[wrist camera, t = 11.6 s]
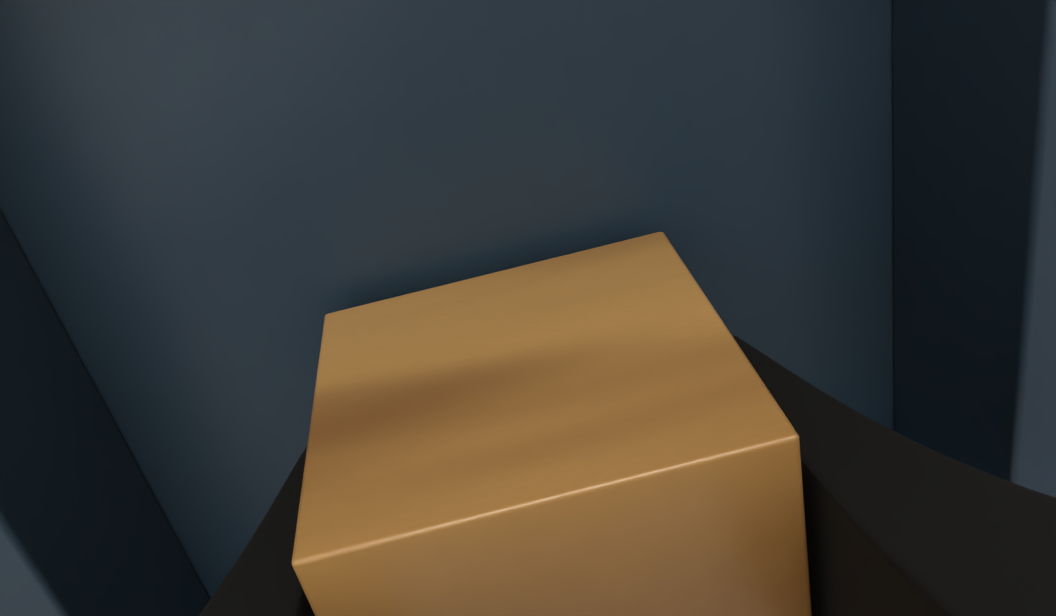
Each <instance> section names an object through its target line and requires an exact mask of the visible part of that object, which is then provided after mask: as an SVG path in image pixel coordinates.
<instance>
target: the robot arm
mask: <svg viewBox="0 0 1056 616" xmlns="http://www.w3.org/2000/svg"><path fill="white" fill-rule="evenodd" d="M733 338H734V339H735V341H736V342H737V344H738V345H739V347H740V348H741V350H742V351H743V353H744V354H745V356H746V357H747V359H748V360H749V362H750V363H751V365H752V366H753V368H754V369H755V371H756V372H757V374H758V375H759V377H760V378H761V380H762V381H763V383H764V384H765V386H766V387H767V389H768V390H769V392H770V393H771V395H772V396H773V398H774V399H775V401H776V402H777V404H778V405H779V407H780V408H781V410H782V411H783V413H784V414H785V416H786V417H787V419H788V420H789V422H790V423H791V425H792V426H793V428H794V429H795V431H796V432H797V434H798V435H799V441H800V455H801V469H802V483H803V497H804V511H805V525H806V539H807V553H808V567H809V581H810V595H811V609H812V616H1056V498H1055V497H1052V496H1049V495H1046V494H1043V493H1040V492H1037V491H1034V490H1031V489H1028V488H1026V487H1023V486H1020V485H1017V484H1015V483H1012V482H1009V481H1007V480H1004V479H1001V478H999V477H996V476H993V475H991V474H989V473H986V472H984V471H981V470H979V469H977V468H974V467H972V466H969V465H967V464H965V463H962V462H960V461H957V460H955V459H953V458H950V457H948V456H945V455H943V454H941V453H939V452H936V451H934V450H932V449H930V448H928V447H925V446H923V445H921V444H919V443H917V442H915V441H913V440H911V439H909V438H907V437H905V436H903V435H901V434H899V433H897V432H895V431H893V430H891V429H889V428H887V427H885V426H883V425H881V424H879V423H878V422H876V421H874V420H872V419H870V418H868V417H866V416H865V415H863V414H861V413H859V412H857V411H855V410H854V409H852V408H850V407H848V406H847V405H845V404H843V403H842V402H840V401H838V400H836V399H835V398H833V397H831V396H830V395H828V394H826V393H825V392H823V391H821V390H820V389H818V388H816V387H815V386H813V385H812V384H810V383H808V382H807V381H805V380H804V379H802V378H800V377H799V376H797V375H796V374H794V373H793V372H791V371H789V370H788V369H786V368H785V367H783V366H782V365H780V364H779V363H777V362H776V361H774V360H773V359H771V358H769V357H768V356H766V355H765V354H763V353H762V352H760V351H759V350H757V349H756V348H754V347H752V346H751V345H749V344H748V343H746V342H745V341H743V340H742V339H740V338H738V337H737V336H733ZM306 452H307V446H306V448H305V450H304V451H303V453H302V454H301V456H300V458H299V459H298V461H297V462H296V464H295V466H294V467H293V469H292V471H291V473H290V474H289V476H288V478H287V479H286V481H285V483H284V484H283V486H282V488H281V490H280V491H279V493H278V495H277V496H276V498H275V500H274V501H273V503H272V505H271V506H270V508H269V510H268V511H267V513H266V515H265V516H264V518H263V520H262V521H261V523H260V525H259V526H258V528H257V529H256V531H255V533H254V534H253V536H252V537H251V539H250V541H249V542H248V544H247V545H246V547H245V548H244V550H243V552H242V553H241V555H240V556H239V558H238V560H237V561H236V563H235V564H234V566H233V567H232V569H231V570H230V572H229V573H228V575H227V576H226V577H225V579H224V580H223V582H222V583H221V585H220V586H219V587H218V589H217V590H216V592H215V593H214V595H213V596H212V597H211V599H210V600H209V602H208V603H207V605H206V606H205V607H204V609H203V610H202V612H201V613H200V615H199V616H315V614H314V612H313V610H312V608H311V605H310V603H309V601H308V599H307V597H306V595H305V592H304V590H303V588H302V586H301V584H300V582H299V579H298V577H297V575H296V573H295V571H294V569H293V566H292V555H293V548H294V541H295V533H296V526H297V518H298V511H299V504H300V496H301V489H302V481H303V474H304V466H305V459H306Z"/></svg>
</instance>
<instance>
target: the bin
mask: <svg viewBox="0 0 1056 616" xmlns="http://www.w3.org/2000/svg"><path fill="white" fill-rule="evenodd" d="M656 232H663V233H664V234H665V236H666V237H667V239H668V240H669V242H670V243H671V245H672V246H673V248H674V249H675V251H676V252H677V254H678V255H679V257H680V258H681V260H682V261H683V263H684V264H685V266H686V267H687V269H688V270H689V272H690V273H691V275H692V276H693V278H694V279H695V281H696V282H697V284H698V285H699V287H700V288H701V290H702V291H703V293H704V294H705V296H706V297H707V299H708V300H709V302H710V303H711V305H712V306H713V308H714V309H715V311H716V312H717V314H718V315H719V317H720V318H721V320H722V321H723V323H724V324H725V326H726V327H727V329H728V330H729V332H730V333H731V335H732V336H737V337H738V338H740V339H742V340H743V341H745V342H746V343H748V344H749V345H751V346H752V347H754V348H756V349H757V350H759V351H760V352H762V353H763V354H765V355H766V356H768V357H769V358H771V359H773V360H774V361H776V362H777V363H779V364H780V365H782V366H783V367H785V368H786V369H788V370H789V371H791V372H793V373H794V374H796V375H797V376H799V377H800V378H802V379H804V380H805V381H807V382H808V383H810V384H812V385H813V386H815V387H816V388H818V389H820V390H821V391H823V392H825V393H826V394H828V395H830V396H831V397H833V398H835V399H836V400H838V401H840V402H842V403H843V404H845V405H847V406H848V407H850V408H852V409H854V410H855V411H857V412H859V413H861V414H863V415H865V416H866V417H868V418H870V419H872V420H874V421H876V422H878V423H879V424H881V425H883V426H885V427H887V428H889V429H891V430H893V431H895V432H897V433H899V434H901V435H903V436H905V437H907V438H909V439H911V440H913V441H915V442H917V443H919V444H921V445H923V446H925V447H928V448H930V449H932V450H934V451H936V452H939V453H941V454H943V455H945V456H948V457H950V458H953V459H955V460H957V461H960V462H962V463H965V464H967V465H969V466H972V467H974V468H977V469H979V470H981V471H984V472H986V473H989V474H991V475H993V476H996V477H999V478H1001V479H1004V480H1007V481H1009V482H1012V483H1015V484H1017V485H1020V486H1023V487H1026V488H1028V489H1031V490H1034V491H1037V492H1040V493H1043V494H1046V495H1049V496H1052V497H1055V498H1056V0H0V616H199V615H200V613H201V612H202V610H203V609H204V607H205V606H206V605H207V603H208V602H209V600H210V599H211V597H212V596H213V595H214V593H215V592H216V590H217V589H218V587H219V586H220V585H221V583H222V582H223V580H224V579H225V577H226V576H227V575H228V573H229V572H230V570H231V569H232V567H233V566H234V564H235V563H236V561H237V560H238V558H239V556H240V555H241V553H242V552H243V550H244V548H245V547H246V545H247V544H248V542H249V541H250V539H251V537H252V536H253V534H254V533H255V531H256V529H257V528H258V526H259V525H260V523H261V521H262V520H263V518H264V516H265V515H266V513H267V511H268V510H269V508H270V506H271V505H272V503H273V501H274V500H275V498H276V496H277V495H278V493H279V491H280V490H281V488H282V486H283V484H284V483H285V481H286V479H287V478H288V476H289V474H290V473H291V471H292V469H293V467H294V466H295V464H296V462H297V461H298V459H299V458H300V456H301V454H302V453H303V451H304V450H305V448H306V446H307V444H308V437H309V429H310V422H311V415H312V407H313V400H314V392H315V385H316V378H317V370H318V363H319V355H320V348H321V341H322V333H323V326H324V318H325V315H326V314H328V313H332V312H336V311H341V310H345V309H349V308H353V307H357V306H361V305H365V304H369V303H373V302H377V301H381V300H385V299H389V298H393V297H397V296H401V295H405V294H409V293H413V292H417V291H422V290H426V289H430V288H434V287H438V286H442V285H446V284H450V283H454V282H458V281H462V280H466V279H470V278H474V277H478V276H482V275H486V274H490V273H494V272H498V271H503V270H507V269H511V268H515V267H519V266H523V265H527V264H531V263H535V262H539V261H543V260H547V259H551V258H555V257H559V256H563V255H567V254H571V253H575V252H579V251H584V250H588V249H592V248H596V247H600V246H604V245H608V244H612V243H616V242H620V241H624V240H628V239H632V238H636V237H640V236H644V235H648V234H652V233H656Z"/></svg>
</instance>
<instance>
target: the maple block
mask: <svg viewBox="0 0 1056 616" xmlns="http://www.w3.org/2000/svg"><path fill="white" fill-rule="evenodd" d="M292 566H293V569H294V571H295V573H296V575H297V577H298V579H299V582H300V584H301V586H302V588H303V590H304V592H305V595H306V597H307V599H308V601H309V603H310V605H311V608H312V610H313V612H314V614H315V616H812V609H811V595H810V581H809V567H808V553H807V539H806V525H805V511H804V497H803V483H802V469H801V455H800V441H799V435H798V434H797V432H796V431H795V429H794V428H793V426H792V425H791V423H790V422H789V420H788V419H787V417H786V416H785V414H784V413H783V411H782V410H781V408H780V407H779V405H778V404H777V402H776V401H775V399H774V398H773V396H772V395H771V393H770V392H769V390H768V389H767V387H766V386H765V384H764V383H763V381H762V380H761V378H760V377H759V375H758V374H757V372H756V371H755V369H754V368H753V366H752V365H751V363H750V362H749V360H748V359H747V357H746V356H745V354H744V353H743V351H742V350H741V348H740V347H739V345H738V344H737V342H736V341H735V339H734V338H733V336H732V335H731V333H730V332H729V330H728V329H727V327H726V326H725V324H724V323H723V321H722V320H721V318H720V317H719V315H718V314H717V312H716V311H715V309H714V308H713V306H712V305H711V303H710V302H709V300H708V299H707V297H706V296H705V294H704V293H703V291H702V290H701V288H700V287H699V285H698V284H697V282H696V281H695V279H694V278H693V276H692V275H691V273H690V272H689V270H688V269H687V267H686V266H685V264H684V263H683V261H682V260H681V258H680V257H679V255H678V254H677V252H676V251H675V249H674V248H673V246H672V245H671V243H670V242H669V240H668V239H667V237H666V236H665V234H664V233H663V232H656V233H652V234H648V235H644V236H640V237H636V238H632V239H628V240H624V241H620V242H616V243H612V244H608V245H604V246H600V247H596V248H592V249H588V250H584V251H579V252H575V253H571V254H567V255H563V256H559V257H555V258H551V259H547V260H543V261H539V262H535V263H531V264H527V265H523V266H519V267H515V268H511V269H507V270H503V271H498V272H494V273H490V274H486V275H482V276H478V277H474V278H470V279H466V280H462V281H458V282H454V283H450V284H446V285H442V286H438V287H434V288H430V289H426V290H422V291H417V292H413V293H409V294H405V295H401V296H397V297H393V298H389V299H385V300H381V301H377V302H373V303H369V304H365V305H361V306H357V307H353V308H349V309H345V310H341V311H336V312H332V313H328V314H326V315H325V318H324V326H323V333H322V341H321V348H320V355H319V363H318V370H317V378H316V385H315V392H314V400H313V407H312V415H311V422H310V429H309V437H308V444H307V452H306V459H305V466H304V474H303V481H302V489H301V496H300V504H299V511H298V518H297V526H296V533H295V541H294V548H293V555H292Z"/></svg>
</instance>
